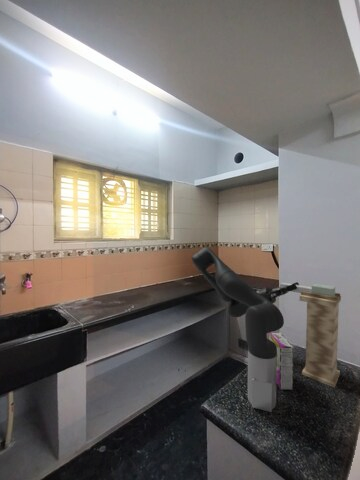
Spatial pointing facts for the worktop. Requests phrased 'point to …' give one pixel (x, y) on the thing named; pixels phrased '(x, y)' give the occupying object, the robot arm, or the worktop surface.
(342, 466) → the worktop surface
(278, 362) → the candy bar box
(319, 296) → the shelf stand
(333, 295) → the handle block
